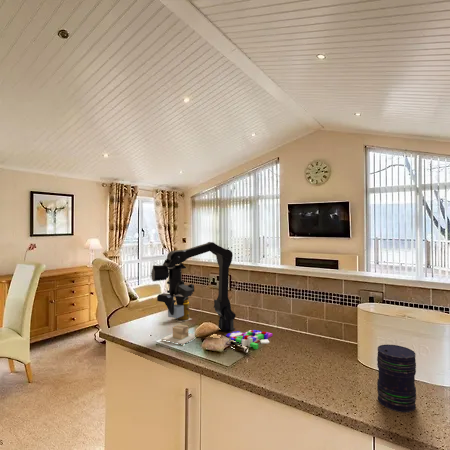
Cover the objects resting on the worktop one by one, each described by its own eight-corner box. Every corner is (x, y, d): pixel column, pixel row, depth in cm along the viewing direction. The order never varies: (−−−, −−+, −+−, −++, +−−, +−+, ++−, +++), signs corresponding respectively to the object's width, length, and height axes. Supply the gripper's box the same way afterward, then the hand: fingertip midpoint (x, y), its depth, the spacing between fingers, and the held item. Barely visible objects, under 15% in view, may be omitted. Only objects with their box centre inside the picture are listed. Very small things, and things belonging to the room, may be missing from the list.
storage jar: (405, 394, 96) (405, 344, 96) (423, 413, 87) (423, 358, 87) (371, 393, 97) (371, 344, 97) (385, 411, 87) (385, 357, 87)
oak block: (179, 334, 147) (179, 324, 147) (188, 336, 145) (188, 326, 145) (172, 337, 143) (172, 327, 143) (181, 339, 140) (181, 329, 140)
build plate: (199, 337, 146) (199, 335, 146) (183, 345, 136) (183, 343, 136) (178, 333, 152) (178, 330, 152) (161, 340, 142) (161, 338, 142)
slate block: (183, 315, 145) (183, 305, 145) (176, 318, 141) (176, 308, 141) (175, 314, 148) (175, 304, 148) (168, 316, 143) (167, 306, 143)
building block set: (246, 329, 159) (246, 320, 159) (281, 339, 145) (281, 329, 145) (209, 342, 141) (209, 332, 141) (245, 355, 127) (245, 344, 127)
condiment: (192, 319, 175) (192, 297, 175) (179, 322, 169) (179, 299, 169) (184, 316, 180) (184, 295, 180) (171, 319, 174) (171, 297, 174)
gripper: (176, 283, 132) (177, 321, 132) (201, 276, 148) (202, 310, 148) (155, 281, 138) (156, 318, 138) (182, 275, 154) (183, 307, 154)
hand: (176, 313), depth 144 cm, fingers closed on slate block, 5 cm apart
